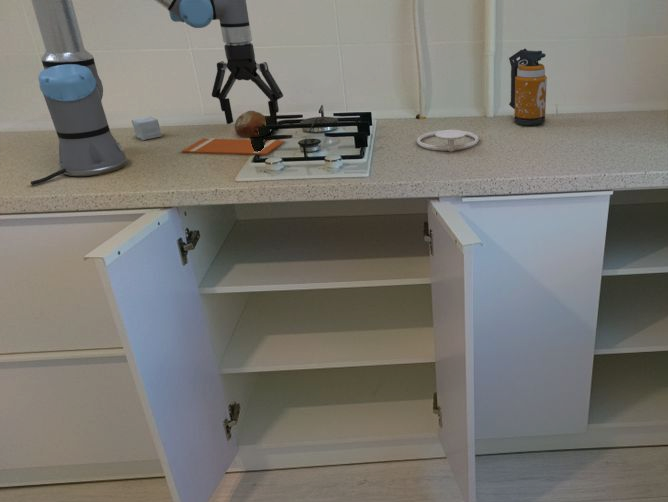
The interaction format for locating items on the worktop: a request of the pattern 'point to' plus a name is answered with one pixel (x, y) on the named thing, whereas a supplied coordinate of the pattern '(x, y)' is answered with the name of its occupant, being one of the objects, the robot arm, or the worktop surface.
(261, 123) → the bread roll
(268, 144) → the tea towel
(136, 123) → the small box
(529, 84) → the canister
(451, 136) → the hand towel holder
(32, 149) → the worktop surface
